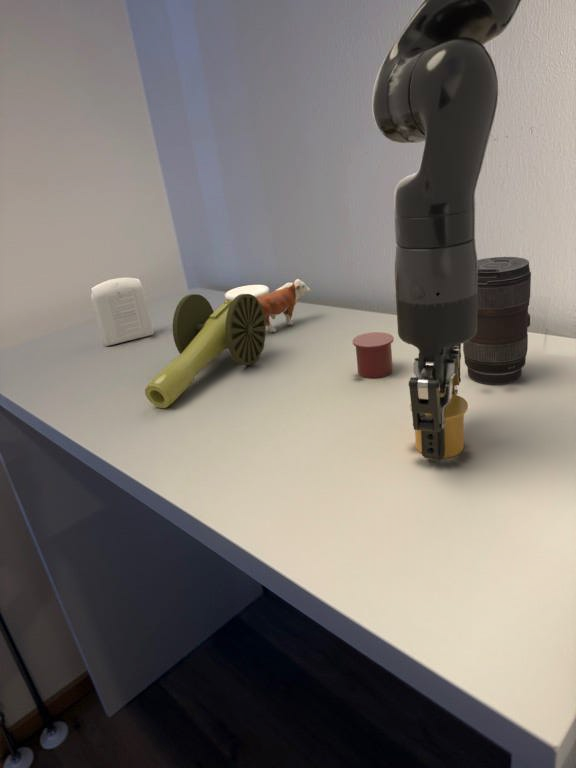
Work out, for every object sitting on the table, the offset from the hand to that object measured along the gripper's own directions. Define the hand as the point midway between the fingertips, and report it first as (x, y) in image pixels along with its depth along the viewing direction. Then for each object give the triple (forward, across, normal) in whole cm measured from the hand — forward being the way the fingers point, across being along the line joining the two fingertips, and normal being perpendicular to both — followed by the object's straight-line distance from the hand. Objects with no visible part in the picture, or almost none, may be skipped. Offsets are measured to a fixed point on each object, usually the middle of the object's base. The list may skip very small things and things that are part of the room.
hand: (439, 441), depth 58 cm
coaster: (+1, +50, +52) cm, 72 cm away
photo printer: (+1, +28, +67) cm, 73 cm away
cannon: (+1, +13, +39) cm, 41 cm away
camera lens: (+1, +20, -3) cm, 20 cm away
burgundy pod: (0, +18, +13) cm, 22 cm away
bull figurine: (+1, +37, +37) cm, 52 cm away
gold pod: (0, 0, 0) cm, 0 cm away
